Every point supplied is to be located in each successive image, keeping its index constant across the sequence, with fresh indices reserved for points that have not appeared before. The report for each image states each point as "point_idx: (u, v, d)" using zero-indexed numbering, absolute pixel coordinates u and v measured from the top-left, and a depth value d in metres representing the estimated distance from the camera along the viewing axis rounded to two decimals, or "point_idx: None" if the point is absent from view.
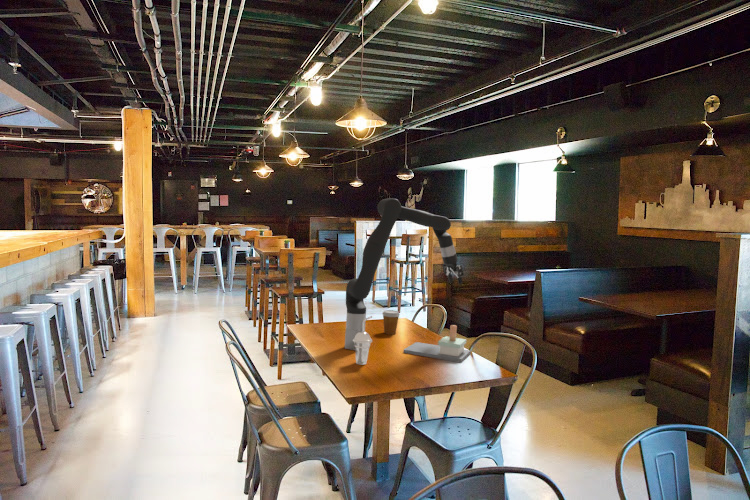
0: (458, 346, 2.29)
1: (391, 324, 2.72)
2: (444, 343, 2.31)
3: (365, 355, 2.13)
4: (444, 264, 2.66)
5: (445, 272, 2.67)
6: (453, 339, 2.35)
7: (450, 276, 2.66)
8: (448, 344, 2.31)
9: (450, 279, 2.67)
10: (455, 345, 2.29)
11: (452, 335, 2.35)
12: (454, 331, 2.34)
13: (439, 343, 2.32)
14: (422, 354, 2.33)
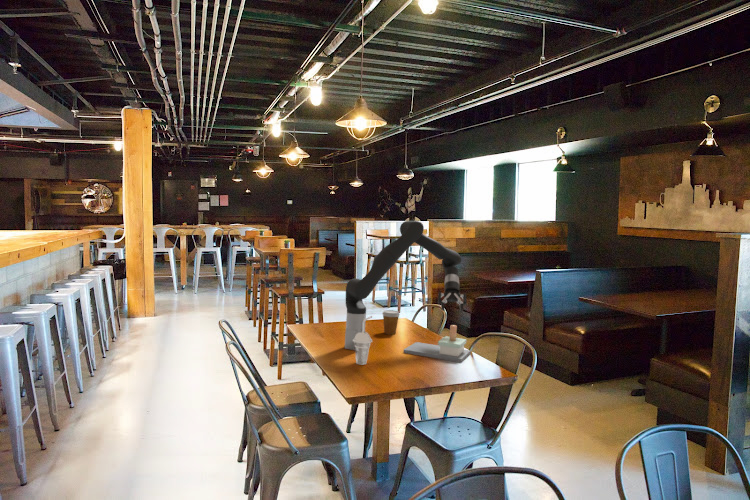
0: (458, 346, 2.29)
1: (391, 324, 2.72)
2: (444, 343, 2.31)
3: (365, 355, 2.13)
4: (440, 293, 2.53)
5: (440, 299, 2.50)
6: (453, 339, 2.35)
7: None
8: (448, 344, 2.31)
9: None
10: (455, 345, 2.29)
11: (452, 335, 2.35)
12: (454, 331, 2.34)
13: (439, 343, 2.32)
14: (422, 354, 2.33)
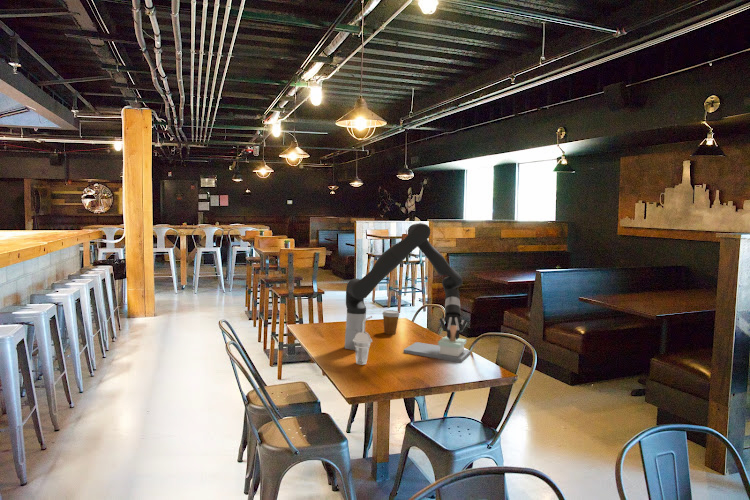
0: (458, 346, 2.29)
1: (391, 324, 2.72)
2: (444, 343, 2.31)
3: (365, 355, 2.13)
4: (441, 319, 2.40)
5: None
6: (453, 339, 2.35)
7: (449, 332, 2.36)
8: (448, 344, 2.31)
9: None
10: (455, 345, 2.29)
11: (452, 335, 2.35)
12: (454, 331, 2.34)
13: (439, 343, 2.32)
14: (422, 354, 2.33)
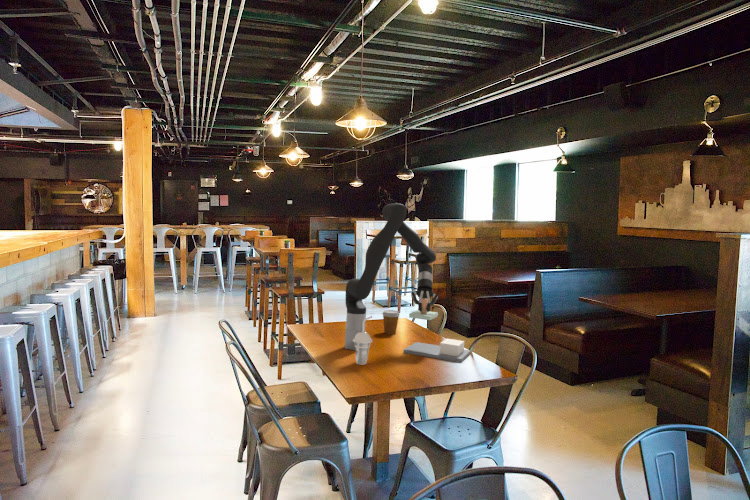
0: (428, 318, 2.34)
1: (391, 324, 2.72)
2: (415, 315, 2.37)
3: (365, 355, 2.13)
4: None
5: None
6: (424, 312, 2.40)
7: None
8: (419, 316, 2.36)
9: None
10: (425, 317, 2.35)
11: (423, 308, 2.40)
12: (425, 304, 2.40)
13: (410, 315, 2.38)
14: (422, 354, 2.33)
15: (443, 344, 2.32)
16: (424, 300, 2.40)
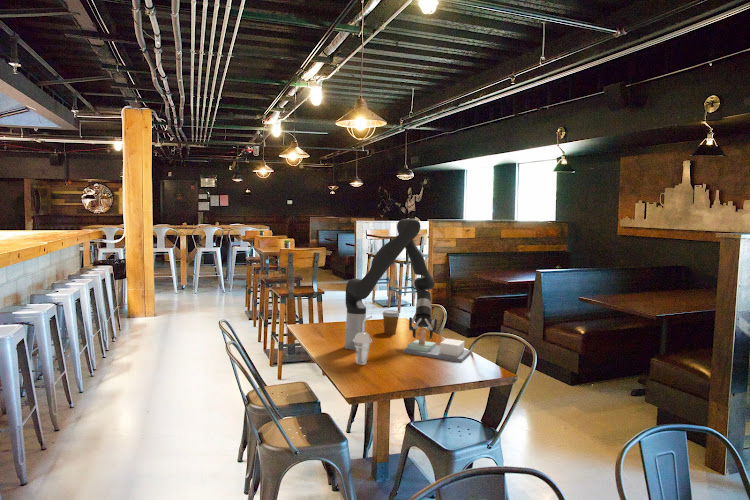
0: (426, 349, 2.35)
1: (391, 324, 2.72)
2: (413, 346, 2.38)
3: (365, 355, 2.13)
4: (411, 318, 2.47)
5: (411, 325, 2.44)
6: (422, 342, 2.41)
7: (415, 331, 2.43)
8: (417, 347, 2.37)
9: (415, 334, 2.42)
10: (423, 348, 2.36)
11: (421, 339, 2.41)
12: (423, 335, 2.41)
13: (408, 346, 2.39)
14: (422, 354, 2.33)
15: (443, 344, 2.32)
16: (422, 331, 2.41)
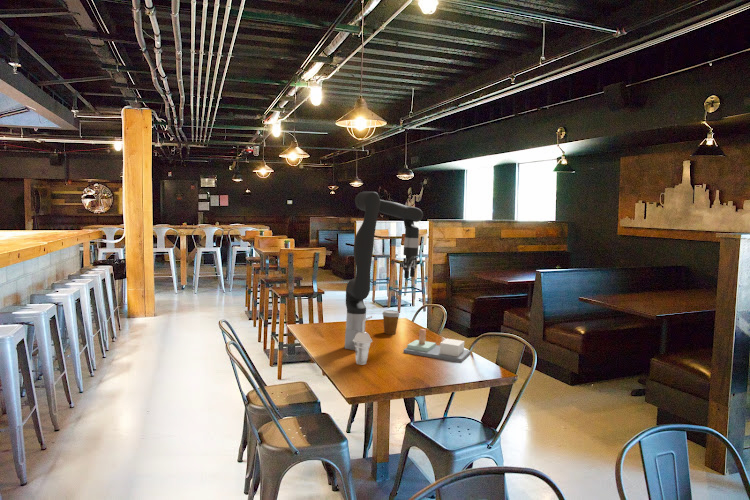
0: (426, 349, 2.35)
1: (391, 324, 2.72)
2: (413, 346, 2.38)
3: (365, 355, 2.13)
4: None
5: (407, 267, 2.54)
6: (422, 342, 2.41)
7: None
8: (417, 347, 2.37)
9: None
10: (423, 348, 2.36)
11: (421, 339, 2.41)
12: (423, 335, 2.41)
13: (408, 346, 2.39)
14: (422, 354, 2.33)
15: (443, 344, 2.32)
16: (422, 331, 2.41)
